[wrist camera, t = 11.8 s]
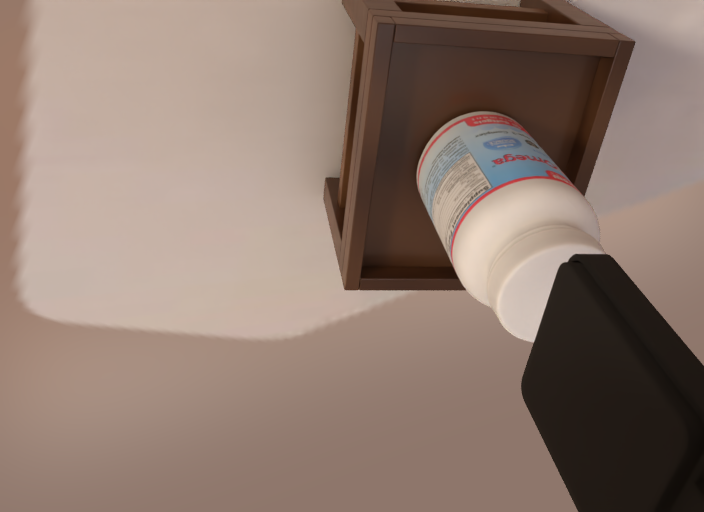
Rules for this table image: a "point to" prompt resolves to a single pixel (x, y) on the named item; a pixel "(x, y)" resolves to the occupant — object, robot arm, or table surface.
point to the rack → (457, 115)
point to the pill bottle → (503, 215)
